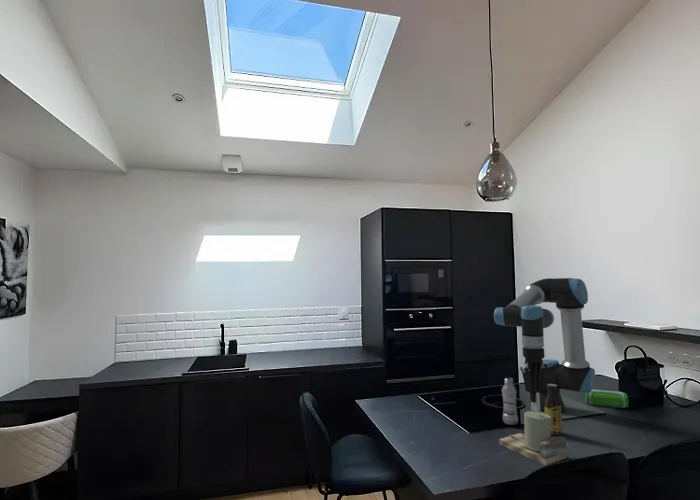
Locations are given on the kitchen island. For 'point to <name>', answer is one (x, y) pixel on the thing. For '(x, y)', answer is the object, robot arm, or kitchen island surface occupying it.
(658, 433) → the kitchen island surface
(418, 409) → the kitchen island surface
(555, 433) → the sauce bottle
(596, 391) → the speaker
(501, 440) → the rail board
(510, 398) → the plastic bottle
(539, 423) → the can
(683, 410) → the kitchen island surface
